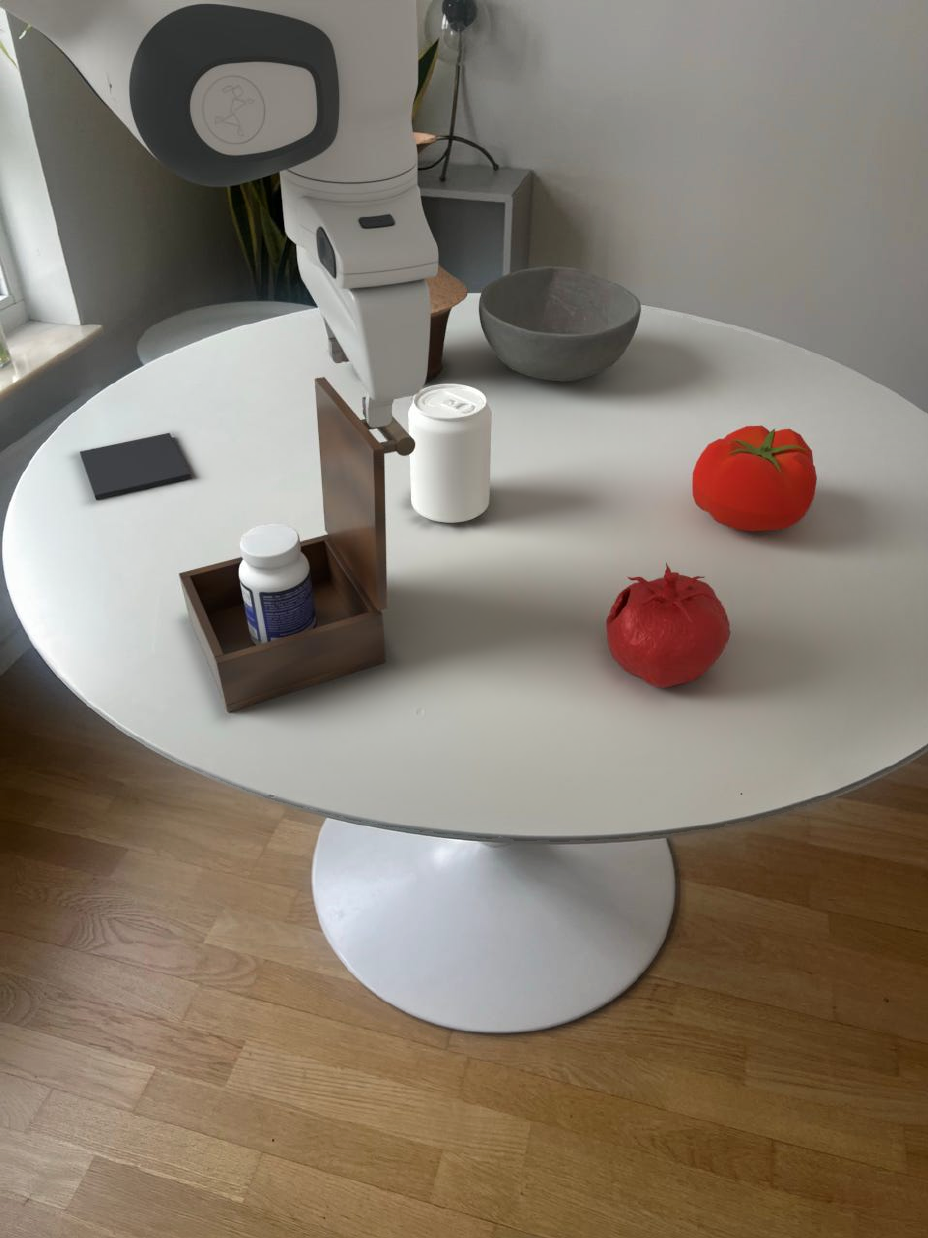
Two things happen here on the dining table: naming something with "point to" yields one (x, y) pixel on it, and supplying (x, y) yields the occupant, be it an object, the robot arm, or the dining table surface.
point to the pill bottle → (275, 583)
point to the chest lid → (356, 486)
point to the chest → (292, 661)
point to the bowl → (558, 322)
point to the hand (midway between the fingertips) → (358, 388)
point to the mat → (134, 465)
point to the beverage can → (450, 452)
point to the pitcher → (439, 294)
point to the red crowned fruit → (667, 629)
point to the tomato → (756, 479)
